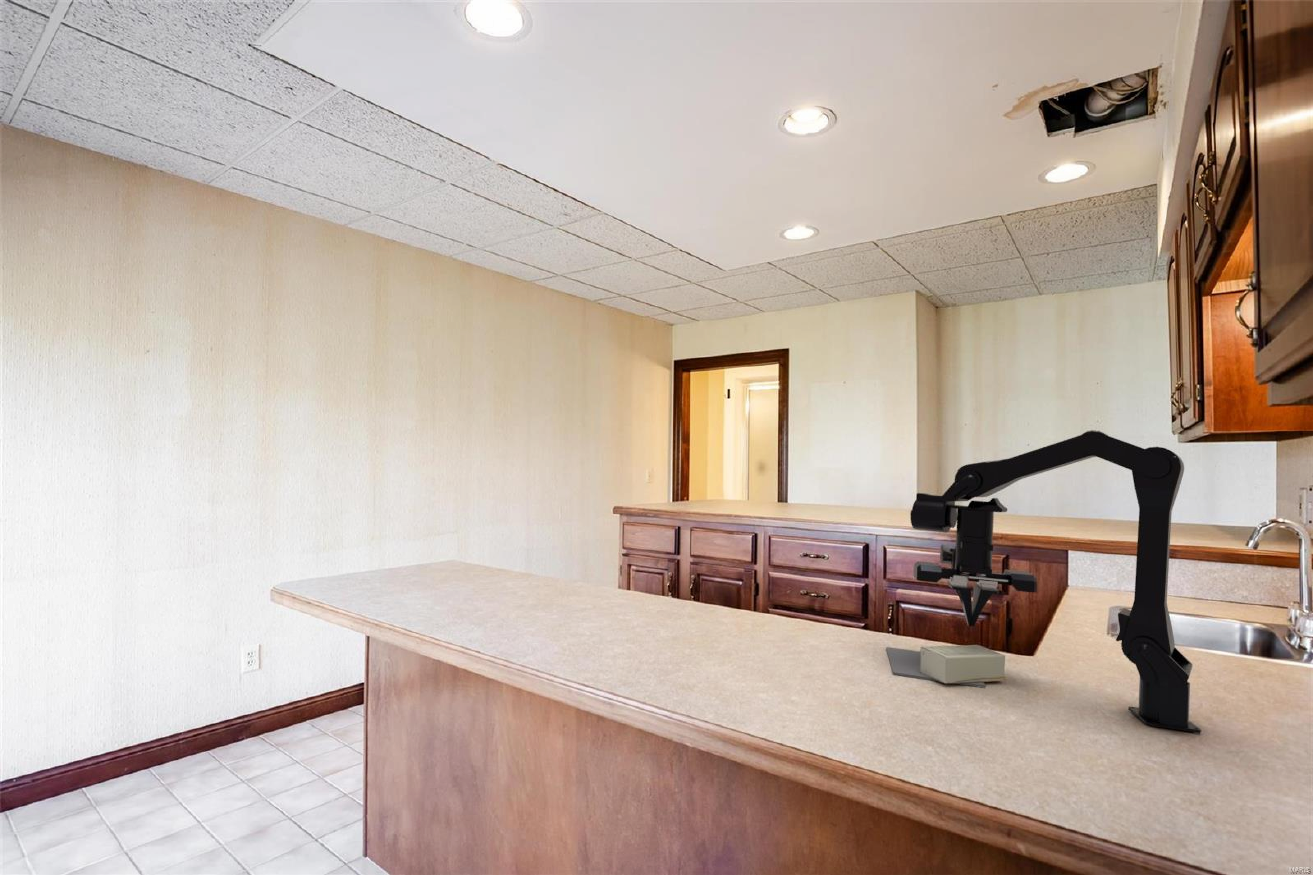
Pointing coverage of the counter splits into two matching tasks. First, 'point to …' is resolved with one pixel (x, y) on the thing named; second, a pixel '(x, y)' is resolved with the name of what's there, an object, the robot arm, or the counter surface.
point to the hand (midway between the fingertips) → (970, 626)
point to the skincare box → (962, 663)
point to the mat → (912, 665)
